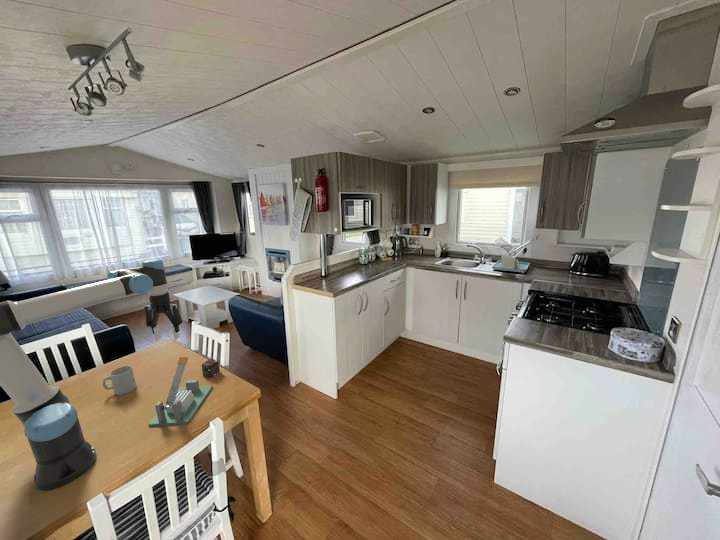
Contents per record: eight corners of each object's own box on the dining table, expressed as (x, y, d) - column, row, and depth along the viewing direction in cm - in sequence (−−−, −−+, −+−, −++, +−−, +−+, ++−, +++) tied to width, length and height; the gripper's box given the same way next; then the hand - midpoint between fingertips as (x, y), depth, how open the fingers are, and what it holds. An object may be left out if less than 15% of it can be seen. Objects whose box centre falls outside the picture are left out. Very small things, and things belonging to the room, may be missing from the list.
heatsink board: (188, 423, 118) (184, 404, 115) (148, 426, 117) (144, 407, 114) (212, 387, 141) (210, 370, 139) (180, 389, 140) (177, 372, 138)
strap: (174, 409, 118) (172, 408, 116) (162, 410, 117) (160, 409, 116) (190, 357, 131) (188, 356, 130) (179, 358, 131) (177, 357, 129)
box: (202, 376, 150) (200, 364, 148) (211, 370, 156) (209, 358, 154) (211, 378, 148) (209, 366, 147) (220, 371, 154) (218, 360, 152)
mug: (137, 382, 146) (133, 363, 143) (135, 391, 139) (130, 371, 136) (107, 390, 139) (102, 371, 137) (103, 400, 132) (98, 380, 130)
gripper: (186, 289, 130) (193, 334, 135) (140, 291, 128) (150, 336, 134) (177, 295, 123) (185, 341, 128) (129, 296, 121) (139, 343, 127)
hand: (167, 338), depth 131 cm, fingers open, 8 cm apart
